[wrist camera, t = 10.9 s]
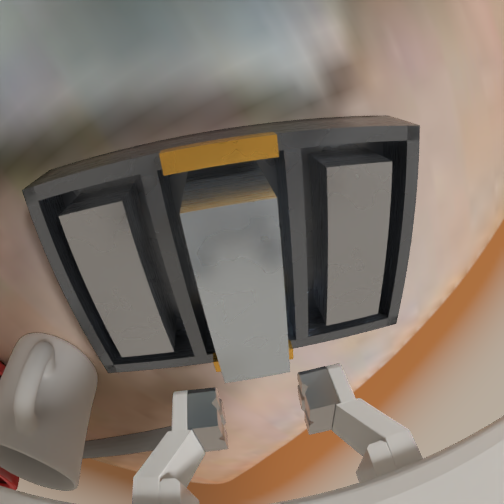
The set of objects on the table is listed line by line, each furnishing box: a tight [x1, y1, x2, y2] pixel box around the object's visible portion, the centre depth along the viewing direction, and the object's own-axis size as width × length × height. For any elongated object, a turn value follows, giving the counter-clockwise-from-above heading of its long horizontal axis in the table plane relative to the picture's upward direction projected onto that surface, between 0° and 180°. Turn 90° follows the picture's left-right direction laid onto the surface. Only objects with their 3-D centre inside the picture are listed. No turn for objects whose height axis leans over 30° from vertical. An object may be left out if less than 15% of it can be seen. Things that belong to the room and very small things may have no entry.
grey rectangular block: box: [180, 160, 290, 383], centre depth 17 cm, size 4×10×6 cm, turn 7°
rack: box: [22, 116, 420, 373], centre depth 18 cm, size 21×14×4 cm
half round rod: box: [82, 426, 172, 459], centre depth 32 cm, size 4×20×2 cm, turn 113°
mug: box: [0, 333, 98, 491], centre depth 19 cm, size 12×8×11 cm
